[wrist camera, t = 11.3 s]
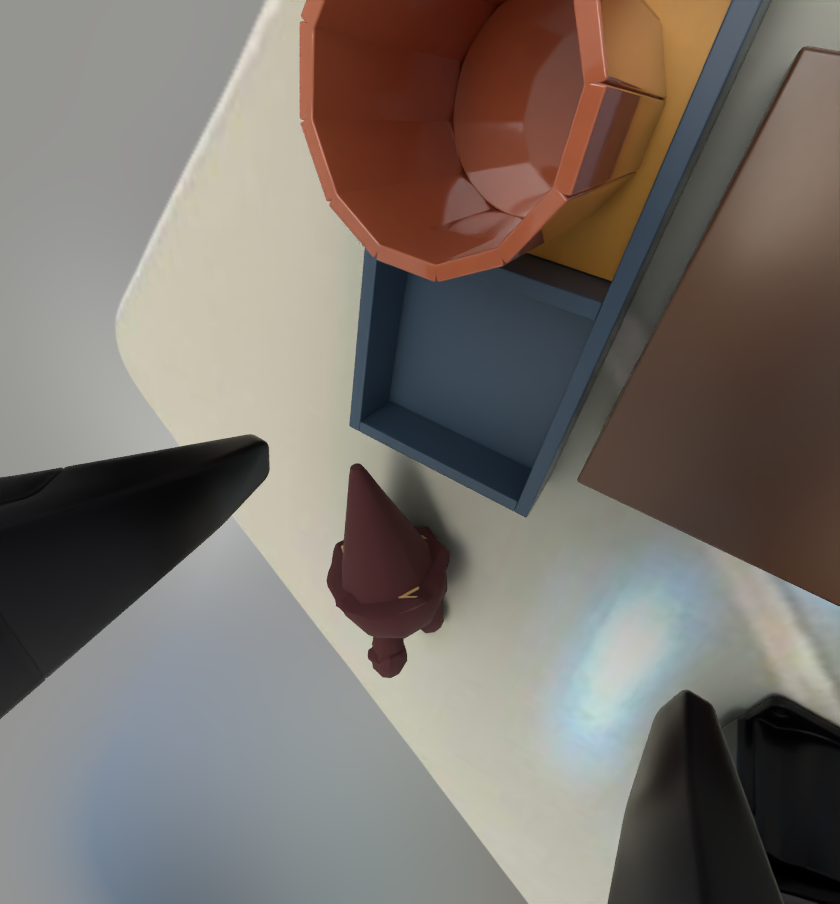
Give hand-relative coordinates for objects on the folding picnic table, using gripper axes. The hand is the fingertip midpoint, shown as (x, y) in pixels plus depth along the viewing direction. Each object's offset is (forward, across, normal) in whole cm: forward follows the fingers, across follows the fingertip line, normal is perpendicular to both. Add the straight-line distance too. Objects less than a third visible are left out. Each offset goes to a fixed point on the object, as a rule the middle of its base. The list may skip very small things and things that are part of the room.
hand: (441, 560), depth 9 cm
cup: (+12, +4, -7) cm, 14 cm away
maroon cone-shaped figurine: (+13, +5, +15) cm, 21 cm away
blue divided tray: (+13, +4, -2) cm, 14 cm away
